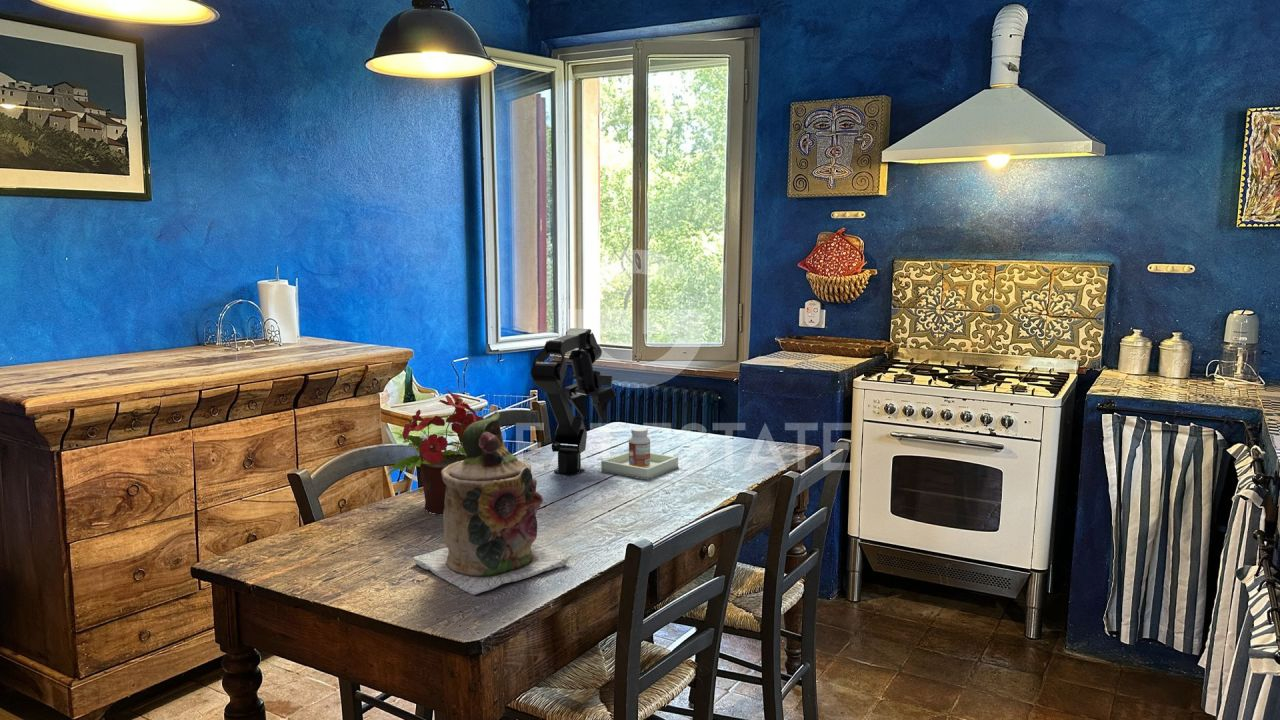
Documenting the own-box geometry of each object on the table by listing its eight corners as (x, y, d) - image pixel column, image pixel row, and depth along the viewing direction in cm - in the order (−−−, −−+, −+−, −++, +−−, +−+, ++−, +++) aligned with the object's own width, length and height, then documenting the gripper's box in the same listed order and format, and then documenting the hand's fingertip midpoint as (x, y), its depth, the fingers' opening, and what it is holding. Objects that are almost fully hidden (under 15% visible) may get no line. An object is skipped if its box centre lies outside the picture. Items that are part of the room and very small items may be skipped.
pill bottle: (628, 463, 261) (627, 426, 259) (648, 463, 261) (649, 426, 260) (629, 469, 255) (629, 431, 253) (651, 469, 255) (651, 431, 253)
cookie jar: (408, 564, 185) (402, 414, 181) (505, 536, 203) (501, 398, 198) (476, 599, 168) (471, 434, 163) (575, 565, 185) (573, 414, 181)
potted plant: (479, 526, 209) (475, 400, 205) (373, 519, 214) (367, 396, 210) (520, 490, 238) (518, 379, 233) (426, 484, 243) (422, 376, 238)
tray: (647, 479, 247) (647, 469, 247) (601, 471, 256) (601, 460, 256) (678, 467, 260) (678, 457, 260) (633, 459, 269) (633, 449, 269)
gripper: (623, 363, 259) (634, 413, 263) (586, 360, 273) (596, 407, 277) (594, 375, 252) (605, 426, 256) (557, 371, 267) (568, 420, 270)
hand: (594, 419), depth 265 cm, fingers open, 9 cm apart
